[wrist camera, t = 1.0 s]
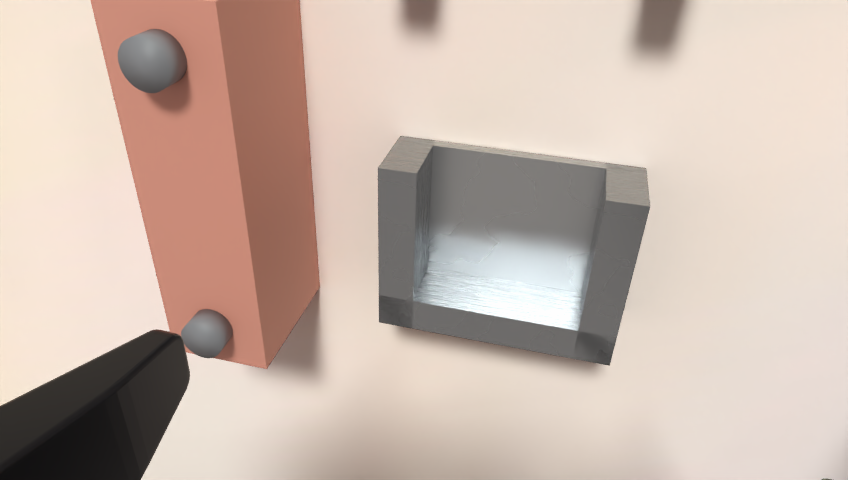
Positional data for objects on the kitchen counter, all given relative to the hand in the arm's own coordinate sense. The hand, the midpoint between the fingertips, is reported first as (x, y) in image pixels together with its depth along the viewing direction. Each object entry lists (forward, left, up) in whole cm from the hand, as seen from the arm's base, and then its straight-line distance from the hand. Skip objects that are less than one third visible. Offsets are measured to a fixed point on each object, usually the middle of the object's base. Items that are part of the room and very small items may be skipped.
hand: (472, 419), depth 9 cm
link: (-3, +10, -13) cm, 16 cm away
